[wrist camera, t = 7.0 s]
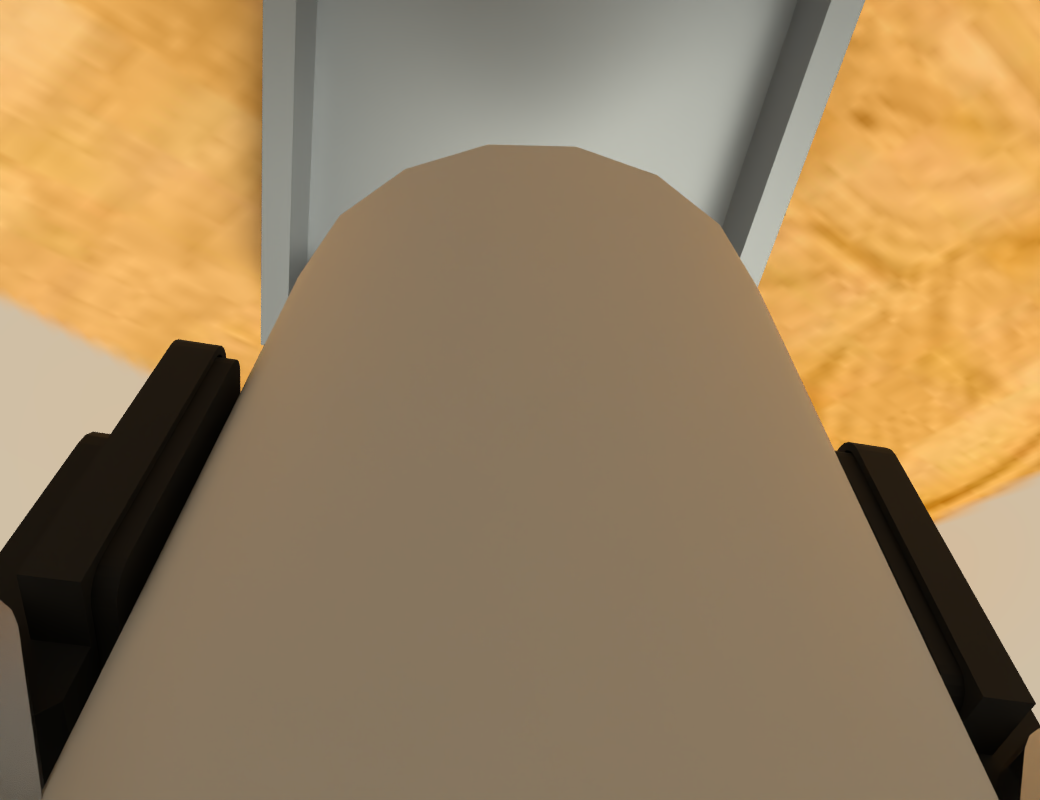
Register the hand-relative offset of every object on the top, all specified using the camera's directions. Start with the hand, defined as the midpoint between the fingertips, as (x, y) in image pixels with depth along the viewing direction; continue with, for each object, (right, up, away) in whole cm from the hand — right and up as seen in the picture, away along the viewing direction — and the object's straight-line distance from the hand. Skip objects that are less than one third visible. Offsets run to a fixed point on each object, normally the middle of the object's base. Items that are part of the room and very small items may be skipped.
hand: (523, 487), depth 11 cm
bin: (0, +9, +13) cm, 16 cm away
